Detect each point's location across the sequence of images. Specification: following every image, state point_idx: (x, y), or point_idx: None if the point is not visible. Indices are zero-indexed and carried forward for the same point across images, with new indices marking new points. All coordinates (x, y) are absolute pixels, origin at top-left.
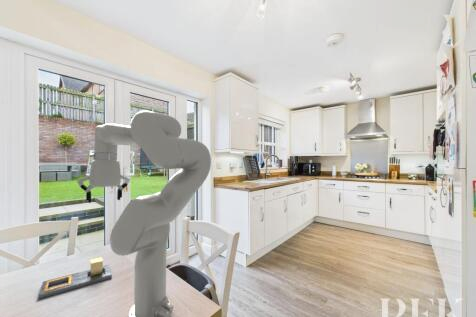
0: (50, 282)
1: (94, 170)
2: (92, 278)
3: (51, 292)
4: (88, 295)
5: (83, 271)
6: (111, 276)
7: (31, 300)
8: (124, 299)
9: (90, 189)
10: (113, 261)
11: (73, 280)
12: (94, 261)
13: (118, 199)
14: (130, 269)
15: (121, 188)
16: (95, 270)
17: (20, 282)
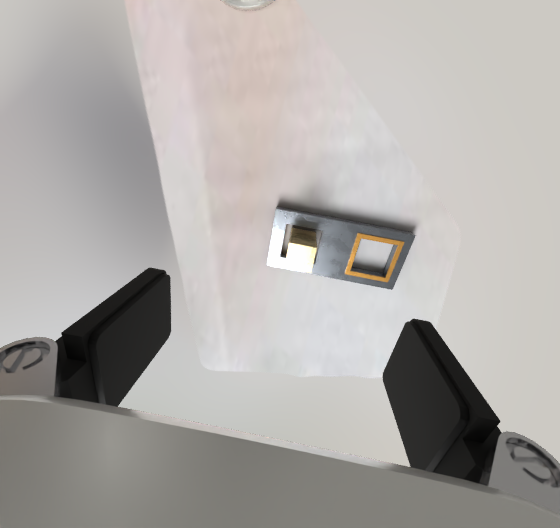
0: (382, 276)
1: None
2: (315, 224)
3: (393, 230)
4: (336, 168)
5: (320, 274)
6: (276, 207)
7: (420, 241)
8: (281, 73)
9: (503, 474)
10: (251, 288)
11: (348, 247)
12: (306, 253)
13: (163, 275)
14: (229, 217)
15: (20, 363)
16: (306, 238)
17: None
